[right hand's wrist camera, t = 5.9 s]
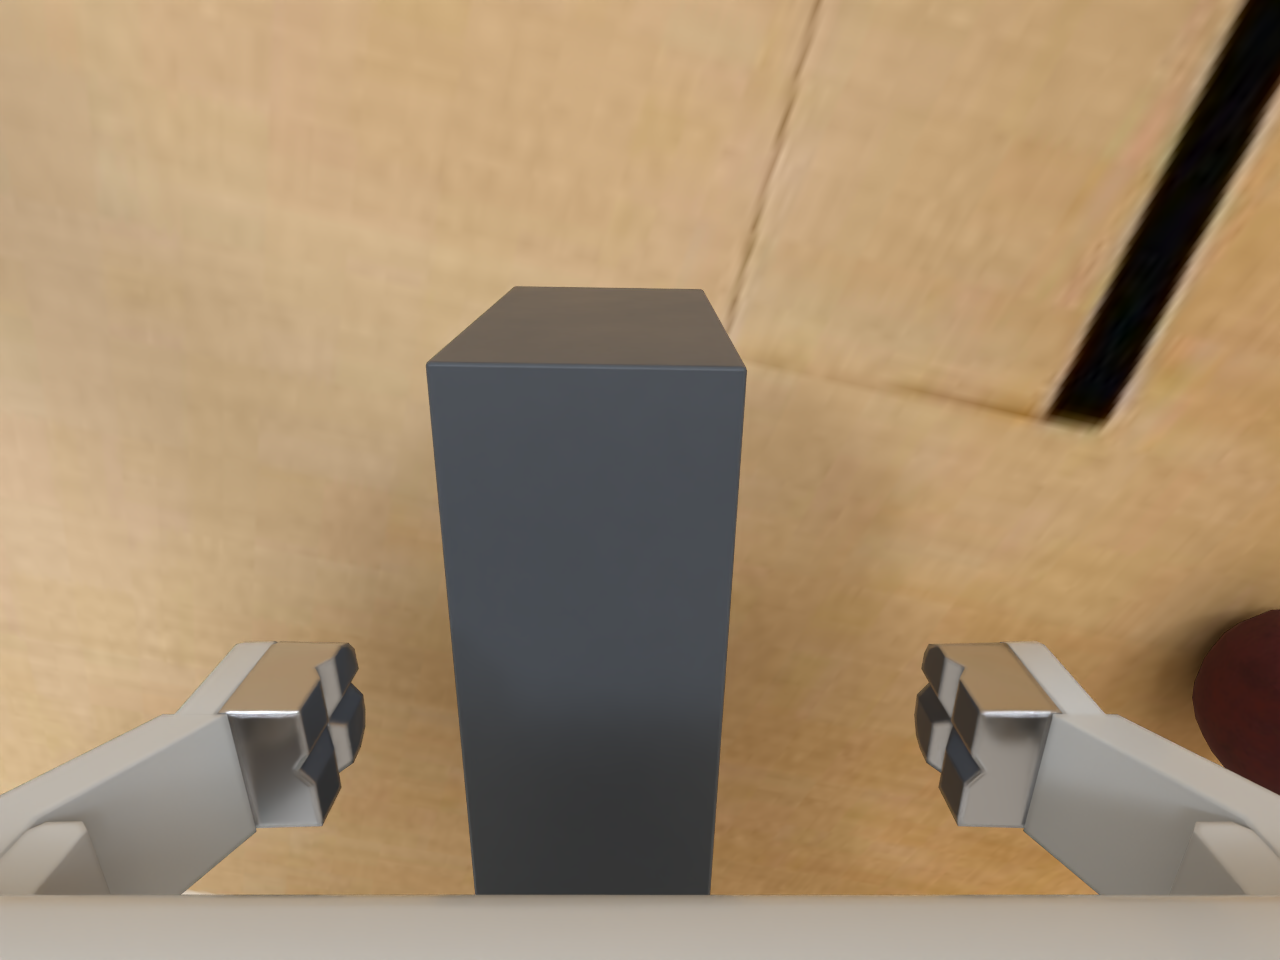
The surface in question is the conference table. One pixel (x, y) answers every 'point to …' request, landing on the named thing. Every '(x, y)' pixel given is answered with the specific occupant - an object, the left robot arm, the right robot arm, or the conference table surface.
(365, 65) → the conference table surface
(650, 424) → the bar
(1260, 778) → the dark red plum
